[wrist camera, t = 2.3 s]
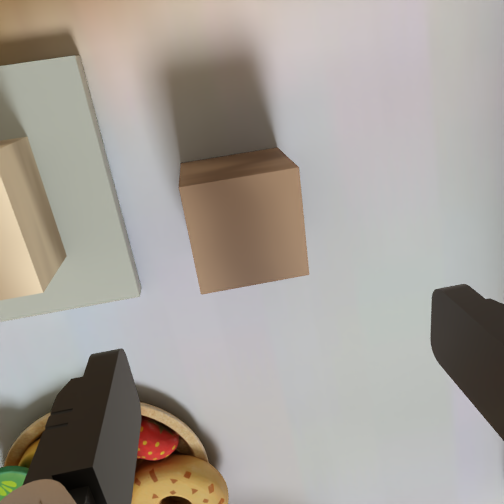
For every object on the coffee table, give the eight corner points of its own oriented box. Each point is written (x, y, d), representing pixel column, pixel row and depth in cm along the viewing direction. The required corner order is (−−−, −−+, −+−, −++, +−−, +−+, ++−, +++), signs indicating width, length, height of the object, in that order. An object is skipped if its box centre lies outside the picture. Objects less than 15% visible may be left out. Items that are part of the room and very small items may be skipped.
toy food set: (244, 485, 32) (250, 528, 29) (87, 561, 33) (77, 610, 30) (144, 354, 27) (138, 389, 24) (-41, 448, 28) (-68, 493, 25)
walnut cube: (277, 147, 23) (298, 167, 19) (287, 236, 25) (309, 274, 21) (180, 162, 23) (178, 187, 18) (198, 252, 25) (201, 294, 20)
